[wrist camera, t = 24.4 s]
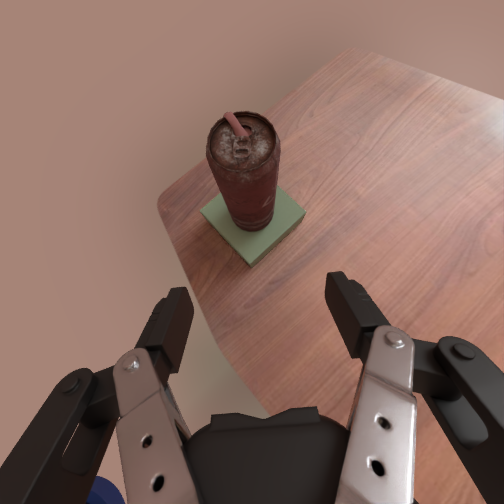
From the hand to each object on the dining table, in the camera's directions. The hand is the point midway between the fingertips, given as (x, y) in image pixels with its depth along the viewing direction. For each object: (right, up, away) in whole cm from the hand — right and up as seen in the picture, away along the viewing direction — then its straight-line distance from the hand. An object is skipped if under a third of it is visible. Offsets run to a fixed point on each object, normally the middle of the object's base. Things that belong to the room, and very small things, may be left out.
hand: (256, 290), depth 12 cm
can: (0, +8, +18) cm, 19 cm away
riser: (0, +7, +21) cm, 23 cm away
